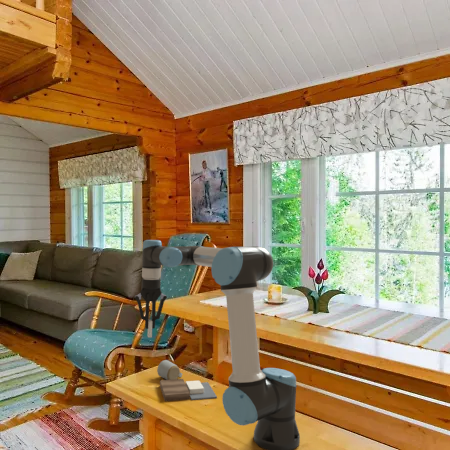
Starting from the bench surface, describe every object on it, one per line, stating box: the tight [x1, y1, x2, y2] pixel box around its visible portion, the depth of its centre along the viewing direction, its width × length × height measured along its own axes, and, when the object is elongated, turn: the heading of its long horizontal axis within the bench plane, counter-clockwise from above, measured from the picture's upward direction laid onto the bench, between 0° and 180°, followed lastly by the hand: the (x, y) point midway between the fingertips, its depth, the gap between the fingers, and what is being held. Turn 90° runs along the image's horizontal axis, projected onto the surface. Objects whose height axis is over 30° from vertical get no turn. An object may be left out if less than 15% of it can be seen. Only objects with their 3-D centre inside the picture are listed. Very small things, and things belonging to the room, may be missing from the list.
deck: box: [159, 378, 191, 402], centre depth 185 cm, size 16×10×2 cm, turn 15°
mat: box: [190, 381, 218, 401], centre depth 186 cm, size 16×10×1 cm, turn 15°
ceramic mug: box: [156, 359, 183, 380], centre depth 201 cm, size 11×8×8 cm
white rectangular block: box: [185, 380, 204, 394], centre depth 187 cm, size 9×6×2 cm, turn 16°
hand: (149, 336), depth 179 cm, fingers closed
